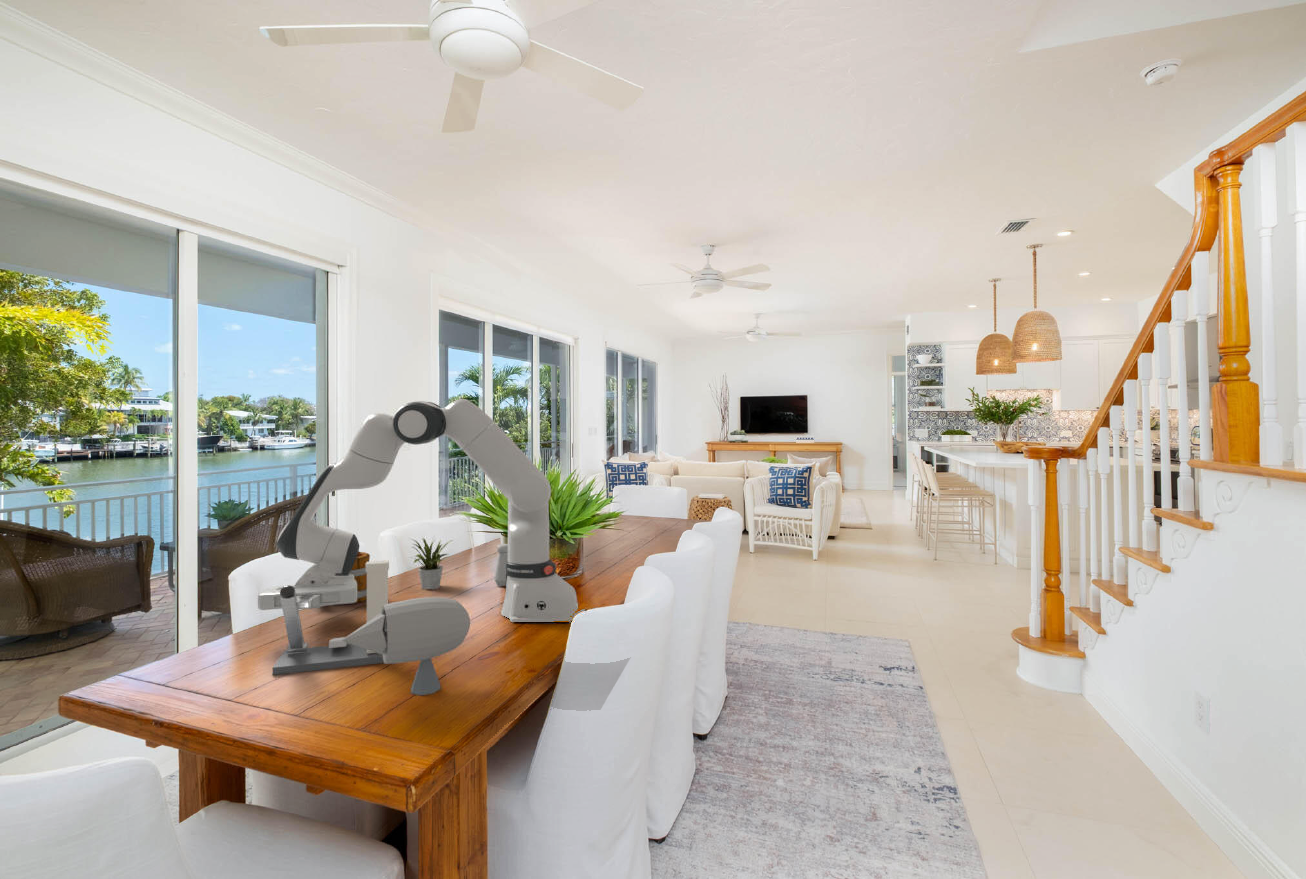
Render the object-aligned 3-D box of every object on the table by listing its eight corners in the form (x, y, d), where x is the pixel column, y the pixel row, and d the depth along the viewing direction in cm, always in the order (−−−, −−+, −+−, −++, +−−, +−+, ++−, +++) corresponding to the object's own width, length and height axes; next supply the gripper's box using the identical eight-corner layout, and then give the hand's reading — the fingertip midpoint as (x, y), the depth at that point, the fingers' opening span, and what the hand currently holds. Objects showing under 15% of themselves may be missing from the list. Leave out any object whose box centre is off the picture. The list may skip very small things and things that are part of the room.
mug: (379, 598, 174) (379, 547, 174) (319, 611, 161) (319, 556, 161) (361, 591, 181) (361, 542, 180) (302, 604, 168) (302, 550, 167)
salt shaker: (508, 588, 187) (508, 546, 186) (490, 587, 188) (491, 545, 187) (515, 583, 192) (516, 543, 192) (499, 582, 193) (499, 542, 193)
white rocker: (332, 644, 133) (332, 638, 133) (349, 643, 134) (349, 636, 134) (328, 648, 128) (328, 641, 128) (346, 646, 129) (346, 639, 129)
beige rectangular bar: (366, 650, 129) (366, 561, 129) (388, 648, 131) (389, 560, 131) (365, 654, 127) (365, 564, 127) (387, 651, 129) (388, 562, 128)
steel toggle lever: (289, 646, 129) (277, 583, 119) (308, 644, 130) (298, 581, 120) (287, 656, 127) (274, 592, 117) (306, 654, 128) (295, 591, 118)
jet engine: (376, 673, 122) (377, 588, 121) (475, 674, 122) (476, 589, 122) (339, 707, 107) (339, 610, 107) (451, 708, 107) (452, 611, 107)
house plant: (391, 592, 180) (391, 538, 180) (417, 580, 194) (417, 530, 194) (435, 595, 178) (435, 540, 178) (458, 583, 192) (458, 532, 191)
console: (284, 656, 130) (284, 649, 130) (395, 645, 137) (395, 639, 137) (272, 674, 121) (272, 667, 121) (391, 661, 128) (391, 654, 128)
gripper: (265, 579, 143) (248, 594, 130) (360, 573, 150) (353, 587, 137) (265, 605, 143) (248, 623, 130) (360, 598, 150) (353, 615, 137)
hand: (303, 605), depth 134 cm, fingers closed
